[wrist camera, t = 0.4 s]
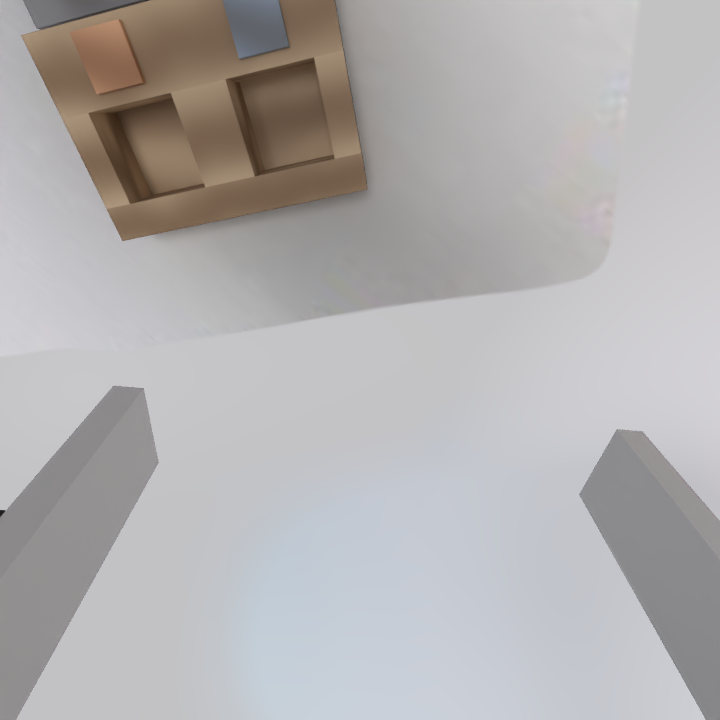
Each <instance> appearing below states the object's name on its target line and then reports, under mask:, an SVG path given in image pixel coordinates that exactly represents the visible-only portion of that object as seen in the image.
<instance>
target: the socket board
mask: <svg viewBox="0 0 720 720" xmlns="http://www.w3.org/2000/svg"><path fill="white" fill-rule="evenodd" d="M21 36H22V38H23V40H24V42H25V44H26V46H27V48H28V51H29V53H30V55H31V57H32V59H33V61H34V63H35V65H36V67H37V69H38V71H39V73H40V75H41V77H42V79H43V81H44V83H45V85H46V87H47V89H48V91H49V93H50V95H51V97H52V99H53V101H54V103H55V105H56V107H57V109H58V111H59V113H60V115H61V117H62V119H63V121H64V123H65V125H66V127H67V129H68V132H69V134H70V136H71V138H72V140H73V142H74V144H75V146H76V148H77V150H78V152H79V154H80V156H81V158H82V160H83V162H84V164H85V166H86V168H87V170H88V172H89V174H90V176H91V178H92V180H93V182H94V184H95V186H96V188H97V190H98V192H99V194H100V196H101V198H102V200H103V202H104V204H105V206H106V208H107V211H108V213H109V215H110V217H111V219H112V221H113V223H114V225H115V227H116V229H117V231H118V233H119V235H120V237H121V239H122V241H125V240H130V239H135V238H139V237H144V236H149V235H153V234H158V233H163V232H168V231H172V230H177V229H182V228H187V227H191V226H196V225H201V224H206V223H210V222H215V221H220V220H224V219H229V218H234V217H239V216H243V215H248V214H253V213H258V212H262V211H267V210H272V209H277V208H281V207H286V206H291V205H295V204H300V203H305V202H310V201H314V200H319V199H324V198H329V197H333V196H338V195H343V194H348V193H352V192H357V191H362V190H367V181H366V175H365V169H364V163H363V158H362V152H361V146H360V141H359V135H358V129H357V124H356V118H355V112H354V106H353V101H352V95H351V89H350V84H349V78H348V72H347V67H346V61H345V55H344V49H343V44H342V38H341V32H340V27H339V21H338V15H337V10H336V4H335V0H150V1H146V2H142V3H139V4H135V5H131V6H128V7H124V8H120V9H116V10H113V11H109V12H105V13H102V14H98V15H94V16H91V17H87V18H83V19H80V20H76V21H72V22H69V23H65V24H61V25H58V26H54V27H50V28H47V29H43V30H39V31H35V32H32V33H28V34H24V35H21Z"/></svg>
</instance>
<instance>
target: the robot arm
mask: <svg viewBox="0 0 720 720" xmlns="http://www.w3.org/2000/svg"><path fill="white" fill-rule="evenodd" d="M157 465H158V458H157V452H156V448H155V443H154V438H153V433H152V428H151V423H150V418H149V413H148V408H147V403H146V398H145V393H144V388H134V387H122V386H113V387H112V389H111V390H110V391H109V392H108V393H107V394H106V396H105V397H104V398H103V399H102V400H101V401H100V402H99V404H98V405H97V406H96V407H95V408H94V409H93V410H92V412H91V413H90V414H89V415H88V416H87V417H86V419H85V420H84V421H83V422H82V423H81V424H80V426H79V427H78V428H77V429H76V430H75V431H74V433H73V434H72V435H71V436H70V437H69V438H68V439H67V441H66V442H65V443H64V444H63V445H62V446H61V448H60V449H59V450H58V451H57V452H56V453H55V454H54V456H53V457H52V458H51V459H50V460H49V461H48V463H47V464H46V465H45V466H44V467H43V468H42V470H41V471H40V472H39V473H38V474H37V475H36V476H35V478H34V479H33V480H32V481H31V482H30V483H29V485H28V486H27V487H26V488H25V489H24V490H23V492H22V493H21V494H20V495H19V496H18V497H17V498H16V500H15V501H14V502H13V503H12V504H11V505H10V507H9V508H8V509H7V510H6V511H5V510H0V720H16V718H17V717H18V715H19V713H20V711H21V710H22V708H23V706H24V704H25V702H26V701H27V699H28V697H29V695H30V693H31V692H32V690H33V688H34V686H35V684H36V682H37V680H38V679H39V677H40V675H41V673H42V672H43V670H44V668H45V666H46V665H47V663H48V661H49V659H50V657H51V656H52V654H53V652H54V650H55V648H56V647H57V645H58V643H59V641H60V639H61V638H62V636H63V634H64V632H65V630H66V628H67V627H68V625H69V623H70V621H71V619H72V618H73V616H74V614H75V612H76V610H77V609H78V607H79V605H80V603H81V601H82V600H83V598H84V596H85V594H86V592H87V591H88V589H89V587H90V585H91V583H92V582H93V580H94V578H95V576H96V574H97V573H98V571H99V569H100V567H101V565H102V564H103V562H104V560H105V558H106V556H107V555H108V553H109V551H110V549H111V547H112V545H113V544H114V542H115V540H116V538H117V537H118V535H119V533H120V531H121V529H122V528H123V526H124V524H125V522H126V520H127V518H128V517H129V515H130V513H131V511H132V510H133V508H134V506H135V504H136V502H137V501H138V499H139V497H140V495H141V493H142V491H143V489H144V488H145V486H146V484H147V482H148V480H149V479H150V477H151V475H152V473H153V472H154V470H155V468H156V466H157ZM579 495H580V497H581V498H582V500H583V502H584V504H585V506H586V508H587V509H588V511H589V513H590V515H591V516H592V518H593V520H594V522H595V523H596V525H597V527H598V529H599V531H600V532H601V534H602V536H603V538H604V540H605V541H606V543H607V545H608V546H609V548H610V550H611V552H612V554H613V555H614V557H615V559H616V561H617V563H618V564H619V566H620V568H621V570H622V571H623V573H624V575H625V577H626V578H627V580H628V582H629V584H630V586H631V587H632V589H633V591H634V593H635V594H636V596H637V598H638V600H639V602H640V603H641V605H642V607H643V609H644V611H645V612H646V614H647V616H648V618H649V619H650V621H651V623H652V625H653V627H654V628H655V630H656V632H657V634H658V635H659V637H660V639H661V640H662V643H663V644H664V646H665V648H666V650H667V651H668V653H669V655H670V657H671V658H672V660H673V662H674V664H675V666H676V667H677V669H678V671H679V673H680V674H681V676H682V678H683V680H684V681H685V683H686V685H687V687H688V689H689V690H690V692H691V694H692V696H693V698H694V699H695V701H696V703H697V705H698V706H699V708H700V710H701V712H702V713H703V715H704V717H705V719H706V720H720V521H719V519H718V518H717V517H716V516H715V515H714V514H713V513H712V511H711V510H710V509H709V508H708V507H707V506H706V504H705V503H704V502H703V501H702V500H701V499H700V497H699V496H698V495H697V494H696V493H695V492H694V491H693V489H692V488H691V487H690V486H689V485H688V484H687V482H686V481H685V480H684V479H683V478H682V477H681V475H680V474H679V473H678V472H677V471H676V470H675V469H674V467H673V466H672V465H671V464H670V463H669V462H668V461H667V459H666V458H665V457H664V456H663V455H662V454H661V452H660V451H659V450H658V449H657V448H656V447H655V446H654V445H653V443H652V442H651V441H650V440H649V438H648V437H647V436H646V435H645V434H644V433H643V432H642V431H629V430H618V429H617V430H616V432H615V434H614V435H613V437H612V439H611V441H610V442H609V444H608V446H607V447H606V449H605V451H604V453H603V454H602V456H601V458H600V459H599V461H598V463H597V465H596V466H595V468H594V470H593V472H592V473H591V475H590V477H589V478H588V480H587V482H586V484H585V485H584V487H583V489H582V491H581V493H580V494H579Z"/></svg>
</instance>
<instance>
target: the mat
mask: <svg viewBox="0 0 720 720" xmlns="http://www.w3.org/2000/svg"><path fill="white" fill-rule="evenodd" d="M23 1H24V3H25V5H26V7H27V9H28V11H29V13H30V15H31V17H32V19H33V22H34V24H35V26H36V28H37V29H44V28H48V27H52V26H55V25H59V24H63V23H66V22H70V21H74V20H77V19H81V18H85V17H88V16H92V15H96V14H99V13H103V12H107V11H110V10H114V9H118V8H121V7H125V6H129V5H133V4H136V3H140V2H144V1H147V0H23Z"/></svg>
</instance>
